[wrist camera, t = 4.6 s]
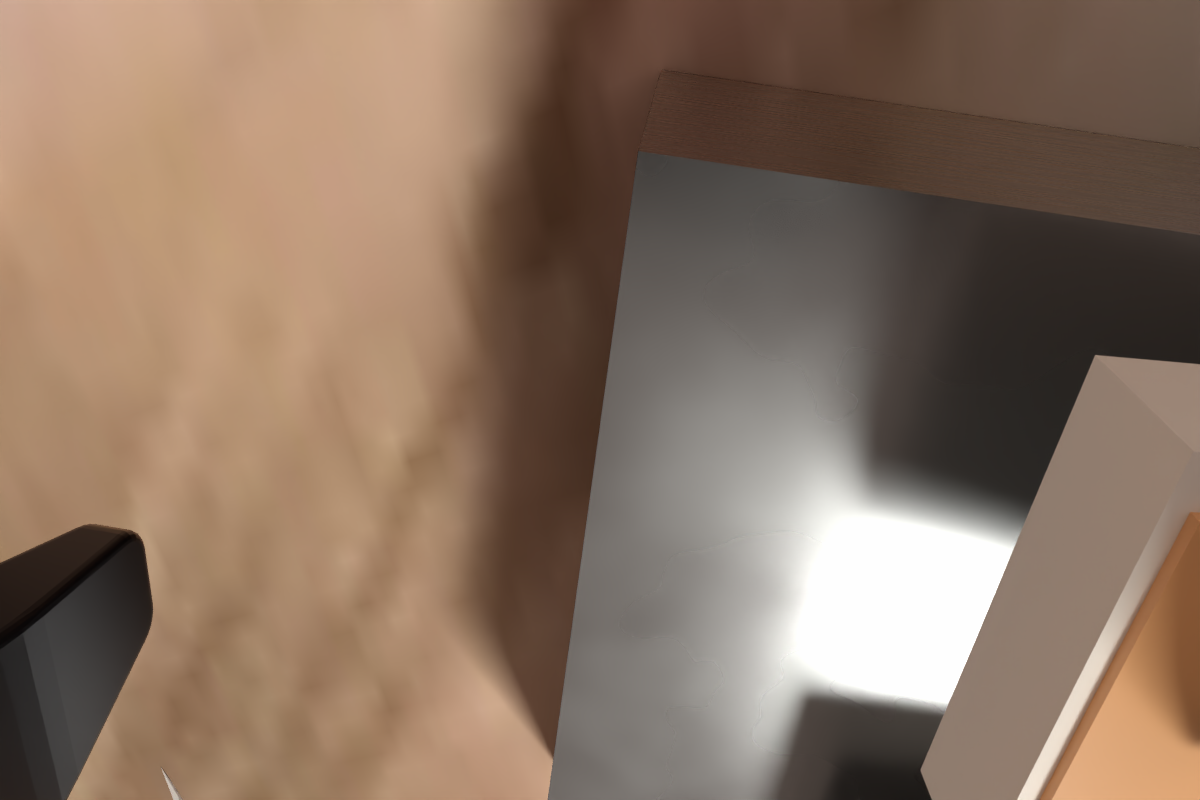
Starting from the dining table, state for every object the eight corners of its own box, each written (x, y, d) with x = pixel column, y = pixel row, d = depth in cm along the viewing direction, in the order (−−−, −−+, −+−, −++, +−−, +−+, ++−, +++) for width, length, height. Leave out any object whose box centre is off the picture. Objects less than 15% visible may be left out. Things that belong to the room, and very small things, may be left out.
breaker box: (2070, 276, 12) (2770, 499, 8) (1455, 927, 19) (1660, 1230, 15) (660, 69, 13) (631, 178, 9) (559, 771, 20) (515, 1020, 16)
